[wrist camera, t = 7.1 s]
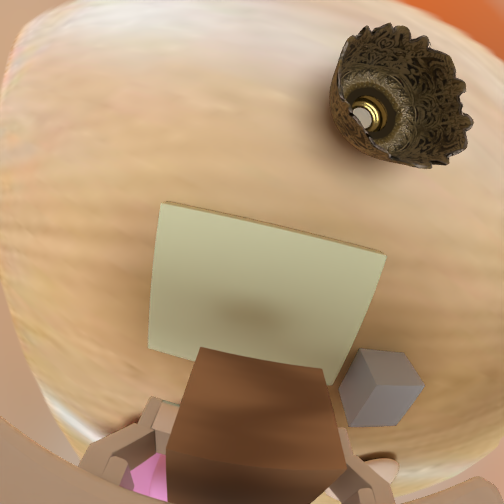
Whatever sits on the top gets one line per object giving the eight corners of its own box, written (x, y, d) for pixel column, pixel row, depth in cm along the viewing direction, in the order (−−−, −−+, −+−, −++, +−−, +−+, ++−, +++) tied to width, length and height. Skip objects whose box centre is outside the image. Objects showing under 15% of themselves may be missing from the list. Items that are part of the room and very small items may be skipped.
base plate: (380, 251, 19) (387, 255, 18) (329, 376, 22) (332, 385, 21) (166, 201, 19) (160, 203, 18) (152, 340, 22) (147, 347, 21)
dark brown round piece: (306, 67, 16) (329, 9, 8) (399, 78, 15) (457, 42, 8) (314, 168, 18) (349, 163, 10) (408, 171, 17) (478, 175, 10)
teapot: (76, 366, 24) (11, 447, 11) (270, 414, 24) (268, 537, 11) (110, 459, 30) (83, 519, 17) (242, 491, 30) (235, 561, 17)
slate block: (403, 352, 22) (425, 385, 17) (380, 390, 23) (396, 425, 18) (359, 347, 21) (376, 385, 17) (337, 388, 23) (348, 427, 18)
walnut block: (322, 368, 10) (347, 468, 6) (287, 436, 12) (291, 518, 7) (200, 346, 10) (165, 448, 5) (189, 420, 12) (167, 502, 7)
